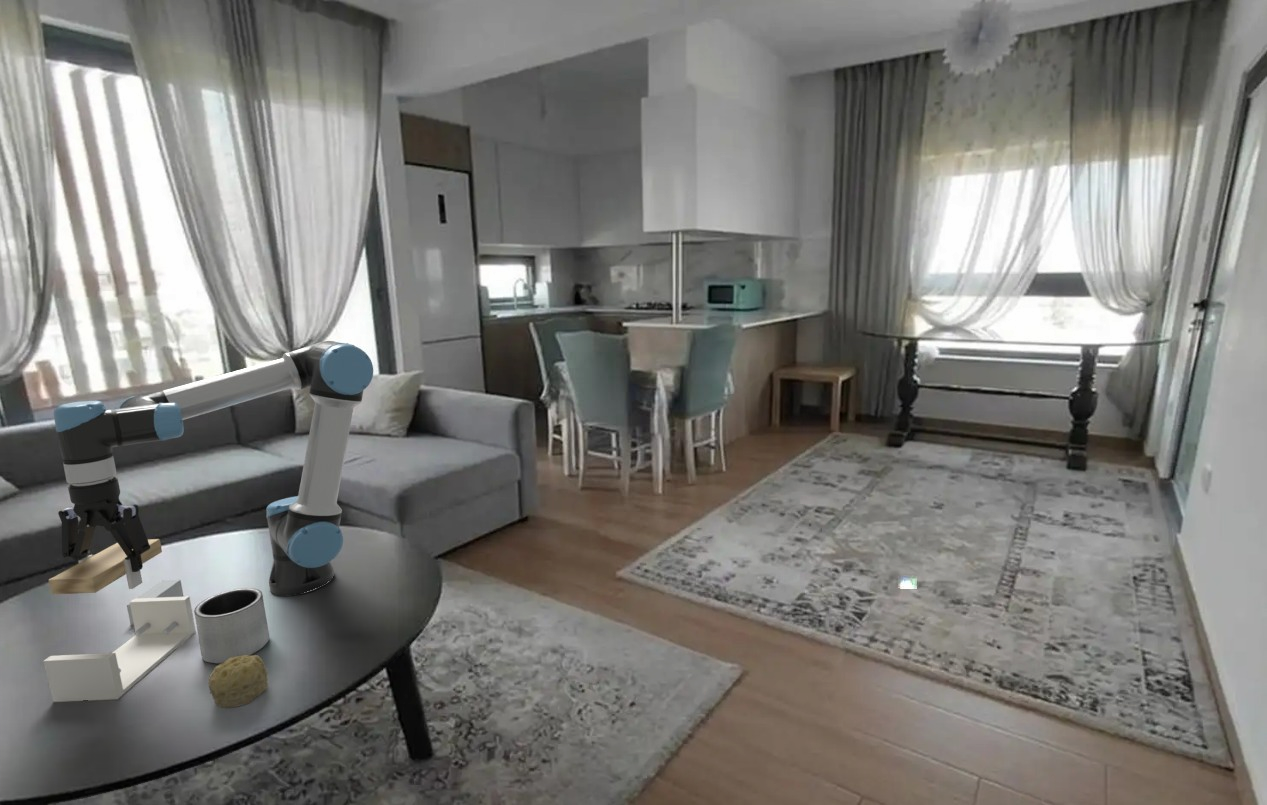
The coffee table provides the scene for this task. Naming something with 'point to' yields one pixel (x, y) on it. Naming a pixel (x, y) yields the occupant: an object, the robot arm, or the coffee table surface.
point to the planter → (231, 624)
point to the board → (98, 570)
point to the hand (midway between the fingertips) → (113, 586)
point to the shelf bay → (123, 653)
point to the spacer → (161, 592)
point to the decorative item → (238, 681)
